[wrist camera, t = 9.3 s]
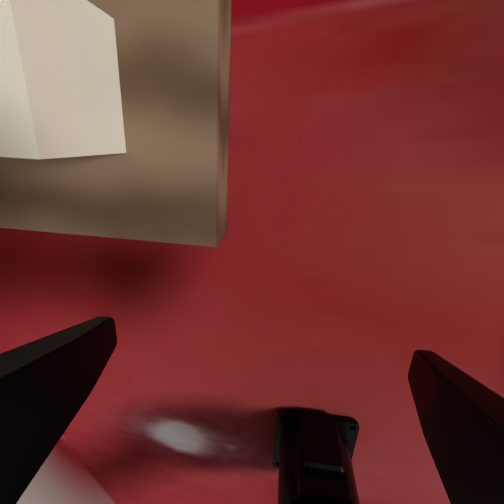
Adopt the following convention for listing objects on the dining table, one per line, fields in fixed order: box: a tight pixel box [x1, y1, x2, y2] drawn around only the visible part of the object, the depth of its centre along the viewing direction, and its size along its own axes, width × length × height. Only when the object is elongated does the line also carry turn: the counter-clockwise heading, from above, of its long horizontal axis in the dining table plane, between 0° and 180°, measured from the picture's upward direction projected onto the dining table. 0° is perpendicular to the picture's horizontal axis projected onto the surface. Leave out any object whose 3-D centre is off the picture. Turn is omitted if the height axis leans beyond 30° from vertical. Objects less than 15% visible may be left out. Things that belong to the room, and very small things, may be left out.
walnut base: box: [0, 0, 231, 247], centre depth 17 cm, size 16×16×3 cm
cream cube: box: [0, 0, 126, 159], centre depth 13 cm, size 6×6×6 cm
